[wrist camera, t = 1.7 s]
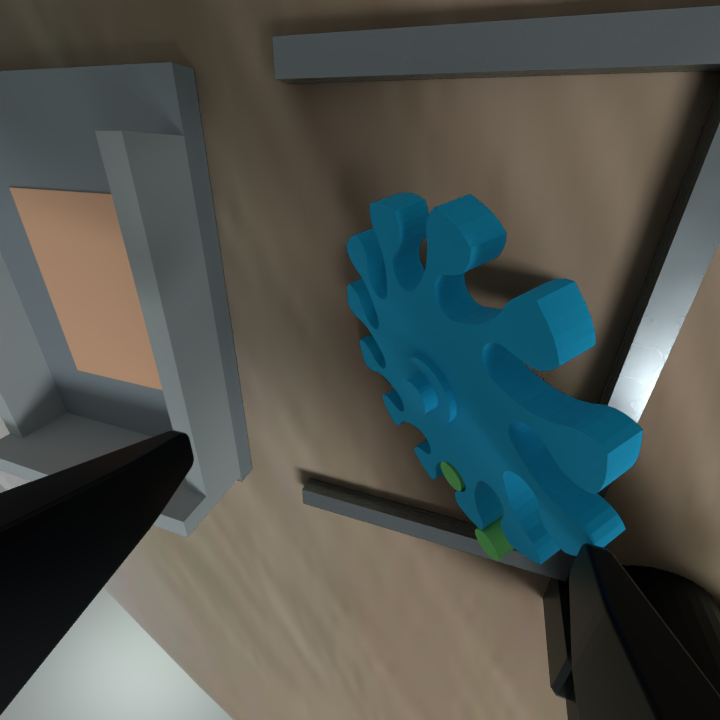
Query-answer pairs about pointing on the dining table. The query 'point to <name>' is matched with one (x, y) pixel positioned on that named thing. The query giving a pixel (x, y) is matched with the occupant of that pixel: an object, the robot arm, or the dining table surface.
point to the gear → (488, 380)
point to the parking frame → (546, 58)
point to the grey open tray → (113, 279)
